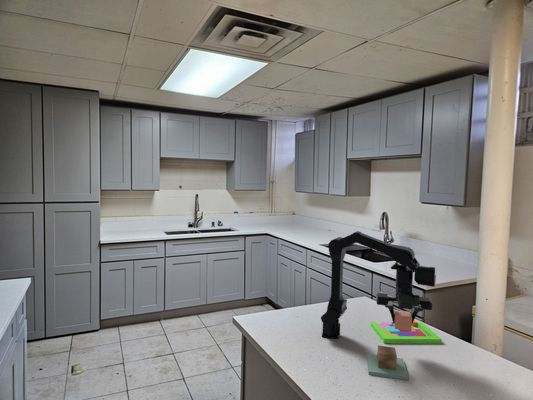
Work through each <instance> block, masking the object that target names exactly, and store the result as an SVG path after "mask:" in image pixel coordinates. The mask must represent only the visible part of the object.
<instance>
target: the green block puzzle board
mask: <svg viewBox="0 0 533 400" xmlns="http://www.w3.org/2000/svg"><path fill="white" fill-rule="evenodd" d="M370 327H371V328H372V330H373V331H374V333H375V334H376V335H377V336H378V337H379V339H380V340H381V342H382V343H383V344H442V343H443V342H442V340H443V339H442V338H441V337H440V336H439V335H438V334H436V333H435V332H434V331H433V330H432V329H431V328H430V327H428V326H427V325H426V324H425V323H424V322H417V321H416V320H415V319H414V321H413V323H412V328H411V331H407V330H398V329H395V328H394V324H393V321H392V322H391V323H390V324H389V323H388V322H387V321H381V322H380V324H379V323H378V322H376V321H371V322H370ZM413 327H417V328H413Z"/></svg>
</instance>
